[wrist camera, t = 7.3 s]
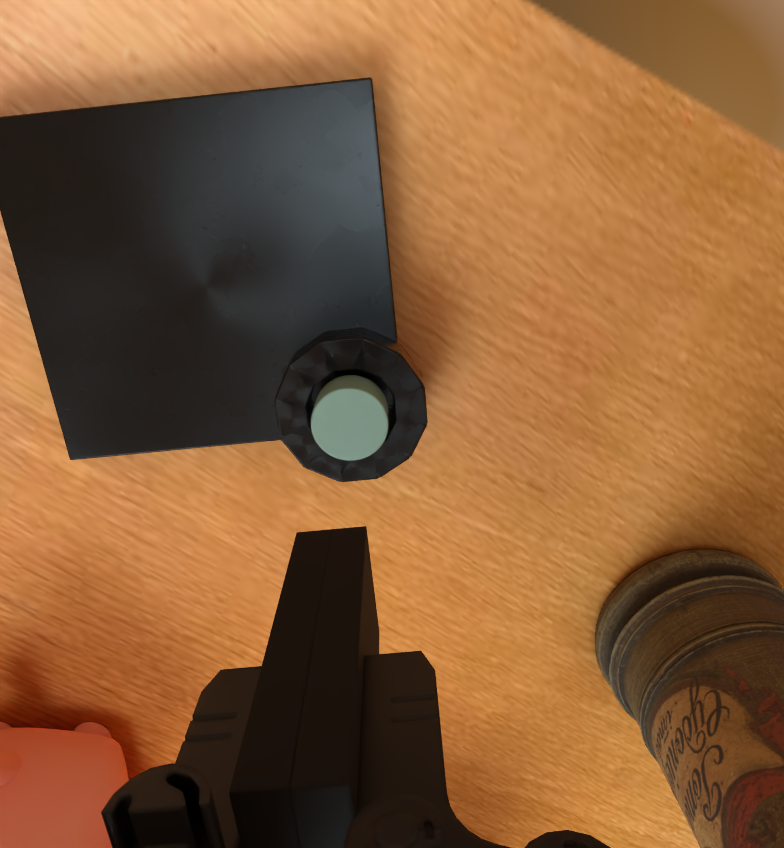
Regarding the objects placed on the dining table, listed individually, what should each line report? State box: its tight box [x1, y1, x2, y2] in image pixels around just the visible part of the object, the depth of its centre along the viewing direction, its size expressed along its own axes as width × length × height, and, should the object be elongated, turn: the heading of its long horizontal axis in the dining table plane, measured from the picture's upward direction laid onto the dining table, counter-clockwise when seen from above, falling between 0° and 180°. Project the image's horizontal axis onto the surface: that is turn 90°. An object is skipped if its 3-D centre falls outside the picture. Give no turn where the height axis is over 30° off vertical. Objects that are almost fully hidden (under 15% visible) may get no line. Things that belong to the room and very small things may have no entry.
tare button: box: [311, 375, 389, 460], centre depth 25 cm, size 3×3×2 cm
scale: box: [0, 78, 428, 482], centre depth 26 cm, size 15×14×3 cm
